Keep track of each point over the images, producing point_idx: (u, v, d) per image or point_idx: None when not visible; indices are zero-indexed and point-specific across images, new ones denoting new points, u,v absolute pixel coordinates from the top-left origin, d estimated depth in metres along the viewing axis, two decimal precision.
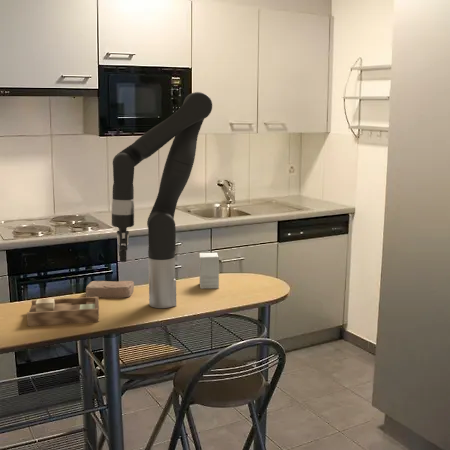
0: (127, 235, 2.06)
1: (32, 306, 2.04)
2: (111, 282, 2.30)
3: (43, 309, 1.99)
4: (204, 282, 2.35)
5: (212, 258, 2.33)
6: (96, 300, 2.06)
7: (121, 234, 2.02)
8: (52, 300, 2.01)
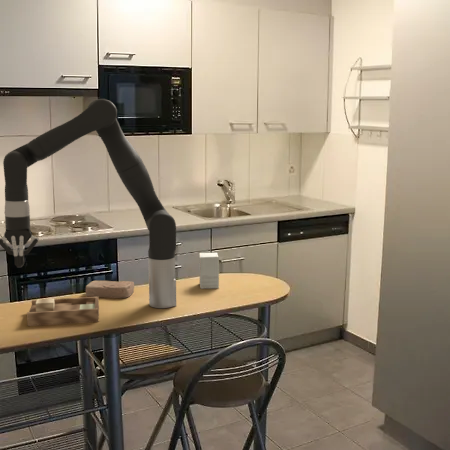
0: None
1: (32, 306, 2.04)
2: (111, 282, 2.30)
3: (43, 309, 1.99)
4: (204, 282, 2.35)
5: (212, 258, 2.33)
6: (96, 300, 2.06)
7: (37, 241, 1.98)
8: (52, 300, 2.01)
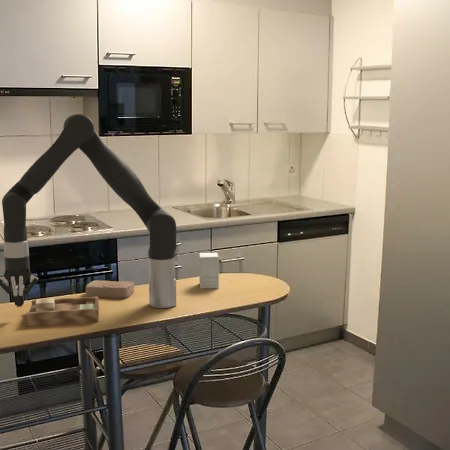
0: None
1: (32, 306, 2.04)
2: (112, 282, 2.30)
3: (43, 309, 1.99)
4: (204, 282, 2.35)
5: (212, 258, 2.33)
6: (96, 300, 2.06)
7: (37, 280, 1.98)
8: (52, 300, 2.01)
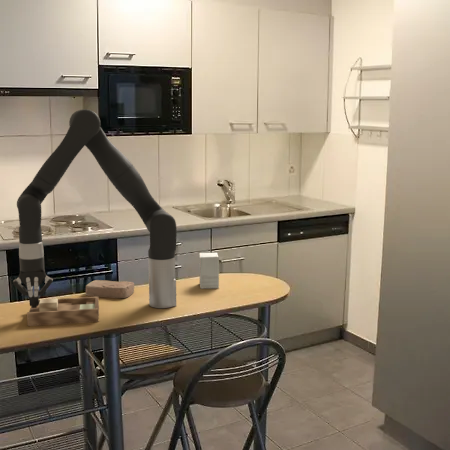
0: None
1: None
2: (112, 282, 2.30)
3: (46, 309, 1.99)
4: (204, 282, 2.35)
5: (212, 258, 2.33)
6: (96, 300, 2.06)
7: None
8: (55, 300, 2.01)
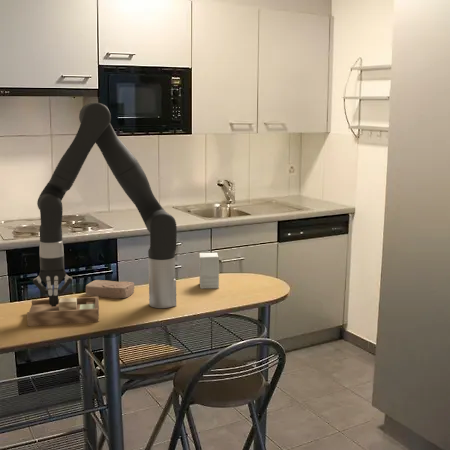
0: None
1: (32, 306, 2.04)
2: (112, 282, 2.30)
3: (66, 308, 2.00)
4: (204, 282, 2.35)
5: (212, 258, 2.33)
6: (96, 300, 2.06)
7: (71, 280, 2.00)
8: (75, 299, 2.02)
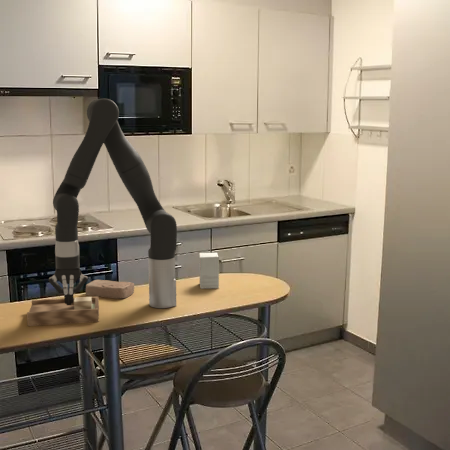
0: None
1: (32, 306, 2.04)
2: (112, 282, 2.30)
3: (81, 307, 2.01)
4: (204, 282, 2.35)
5: (212, 258, 2.33)
6: (96, 300, 2.06)
7: (86, 279, 2.01)
8: (90, 298, 2.03)
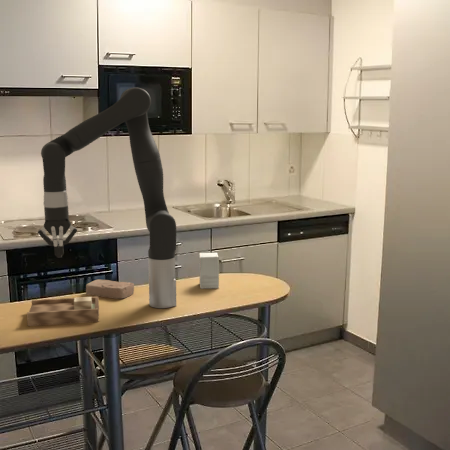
0: None
1: (32, 306, 2.04)
2: (113, 282, 2.30)
3: (81, 307, 2.01)
4: (204, 282, 2.35)
5: (212, 258, 2.33)
6: (96, 300, 2.06)
7: (76, 231, 2.00)
8: (90, 298, 2.03)
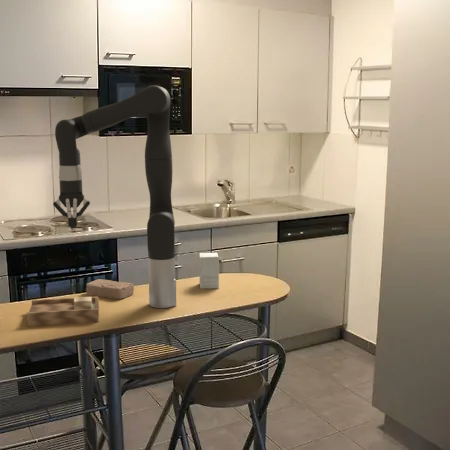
0: None
1: (32, 306, 2.04)
2: (113, 282, 2.30)
3: (81, 307, 2.01)
4: (204, 282, 2.35)
5: (212, 258, 2.33)
6: (96, 300, 2.06)
7: (89, 203, 2.12)
8: (90, 298, 2.03)
